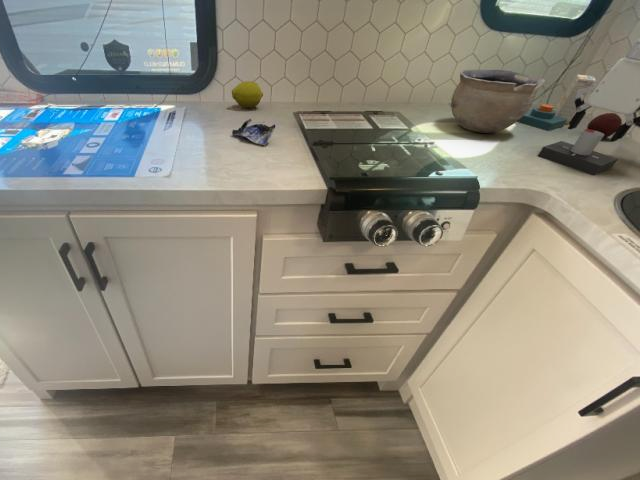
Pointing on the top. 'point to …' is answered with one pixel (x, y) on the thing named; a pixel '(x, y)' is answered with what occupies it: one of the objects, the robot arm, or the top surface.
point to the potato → (605, 124)
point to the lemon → (247, 94)
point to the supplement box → (573, 96)
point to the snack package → (255, 132)
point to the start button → (545, 108)
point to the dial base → (577, 158)
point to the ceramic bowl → (492, 99)
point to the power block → (542, 119)
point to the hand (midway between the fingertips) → (591, 134)
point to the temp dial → (587, 142)
